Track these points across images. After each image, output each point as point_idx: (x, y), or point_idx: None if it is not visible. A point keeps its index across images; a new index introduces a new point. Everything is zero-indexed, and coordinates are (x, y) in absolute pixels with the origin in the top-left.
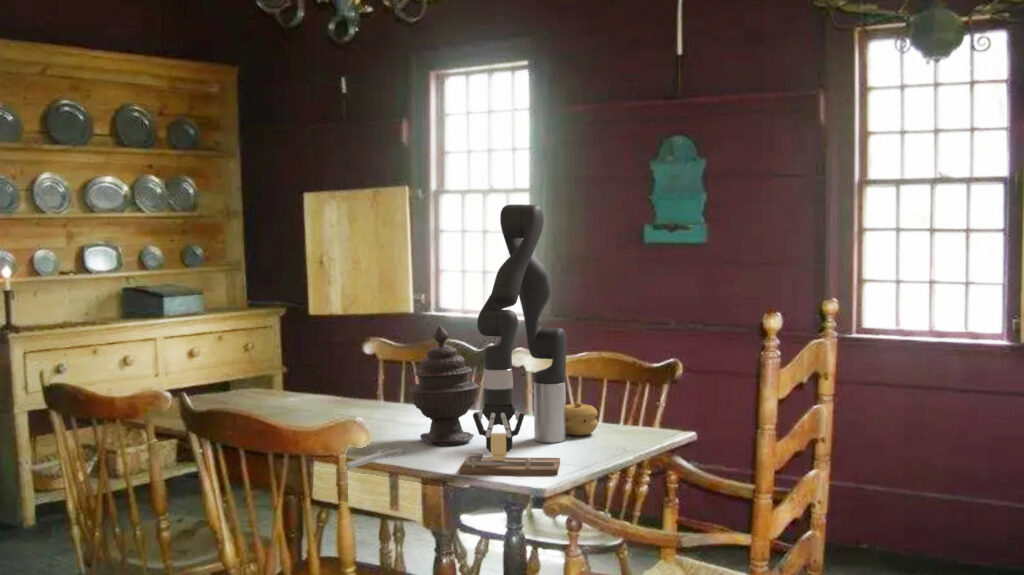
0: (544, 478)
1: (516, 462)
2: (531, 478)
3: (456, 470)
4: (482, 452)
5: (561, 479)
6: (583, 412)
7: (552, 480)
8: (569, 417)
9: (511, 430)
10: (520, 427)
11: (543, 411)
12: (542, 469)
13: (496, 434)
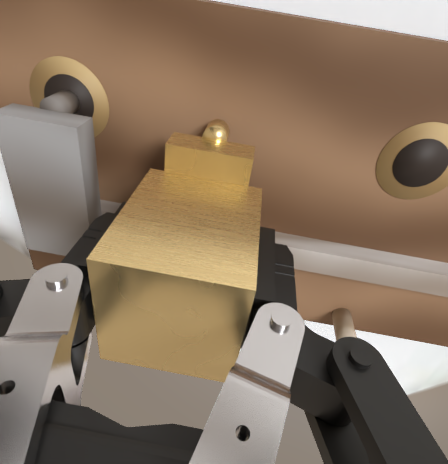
0: (383, 349)
1: (300, 266)
2: (333, 341)
3: (5, 179)
4: (80, 173)
5: (441, 369)
6: None
7: (401, 372)
8: None
9: (296, 359)
10: (411, 423)
11: None
12: (401, 336)
13: (140, 318)
